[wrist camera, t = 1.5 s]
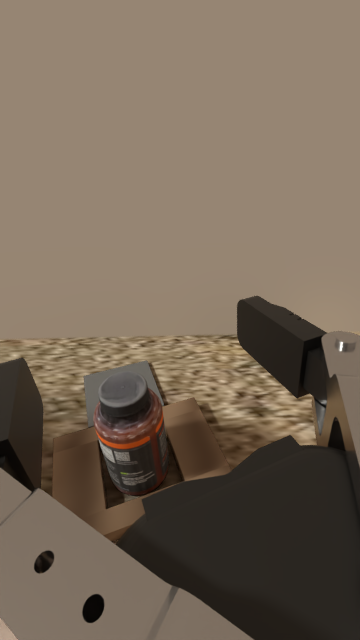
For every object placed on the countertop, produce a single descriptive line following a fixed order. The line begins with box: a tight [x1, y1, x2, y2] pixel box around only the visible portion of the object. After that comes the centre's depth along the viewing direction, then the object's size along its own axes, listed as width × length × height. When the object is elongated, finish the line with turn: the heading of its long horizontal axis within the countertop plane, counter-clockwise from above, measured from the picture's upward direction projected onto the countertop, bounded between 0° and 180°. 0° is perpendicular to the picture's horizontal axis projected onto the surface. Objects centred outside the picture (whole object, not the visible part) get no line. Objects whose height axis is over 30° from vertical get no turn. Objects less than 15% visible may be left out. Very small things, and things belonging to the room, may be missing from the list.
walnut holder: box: [52, 398, 232, 542], centre depth 30 cm, size 16×11×2 cm
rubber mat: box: [84, 361, 164, 428], centre depth 39 cm, size 9×9×1 cm
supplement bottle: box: [93, 371, 169, 495], centre depth 27 cm, size 6×6×11 cm
